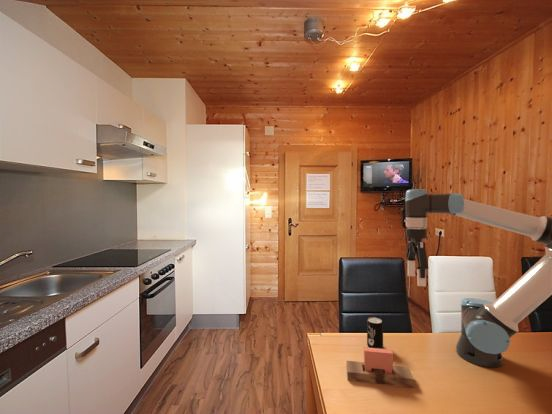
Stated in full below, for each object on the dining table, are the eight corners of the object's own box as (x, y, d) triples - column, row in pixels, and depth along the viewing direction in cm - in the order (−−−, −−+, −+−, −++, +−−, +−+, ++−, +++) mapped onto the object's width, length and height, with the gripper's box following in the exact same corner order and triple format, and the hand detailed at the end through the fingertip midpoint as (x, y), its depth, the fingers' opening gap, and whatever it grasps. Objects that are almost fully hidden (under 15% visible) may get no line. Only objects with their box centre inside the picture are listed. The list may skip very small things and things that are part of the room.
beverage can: (384, 352, 114) (384, 324, 114) (368, 350, 116) (368, 322, 116) (381, 344, 121) (381, 317, 121) (366, 342, 122) (366, 316, 122)
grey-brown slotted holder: (408, 374, 99) (408, 366, 99) (414, 387, 93) (413, 379, 92) (346, 368, 104) (346, 360, 104) (347, 380, 97) (347, 371, 97)
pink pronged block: (391, 376, 99) (391, 349, 98) (393, 381, 96) (392, 353, 96) (363, 373, 100) (363, 347, 100) (364, 378, 98) (364, 350, 98)
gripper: (398, 225, 121) (398, 272, 122) (415, 231, 97) (415, 290, 97) (416, 225, 120) (416, 272, 120) (438, 231, 95) (438, 291, 96)
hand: (416, 280), depth 109 cm, fingers open, 13 cm apart
